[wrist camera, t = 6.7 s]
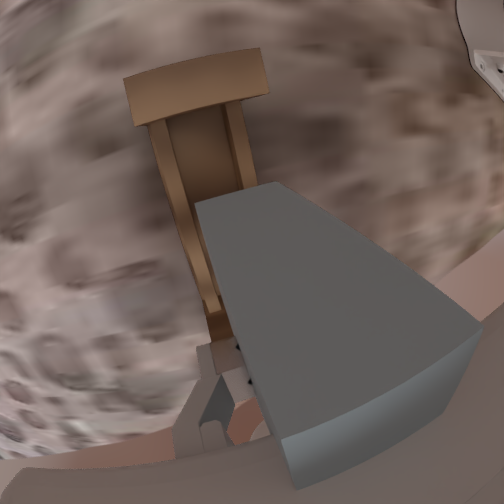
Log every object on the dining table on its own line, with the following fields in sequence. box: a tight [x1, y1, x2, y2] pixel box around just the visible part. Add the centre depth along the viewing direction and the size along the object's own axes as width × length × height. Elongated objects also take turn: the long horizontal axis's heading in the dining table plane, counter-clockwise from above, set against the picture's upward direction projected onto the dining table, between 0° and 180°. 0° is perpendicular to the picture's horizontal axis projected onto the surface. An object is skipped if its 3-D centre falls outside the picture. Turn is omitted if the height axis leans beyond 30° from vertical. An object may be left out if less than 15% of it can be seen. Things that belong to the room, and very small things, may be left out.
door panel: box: [194, 181, 484, 490], centre depth 10 cm, size 9×4×10 cm, turn 12°
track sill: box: [123, 48, 270, 342], centre depth 24 cm, size 24×8×10 cm, turn 12°
